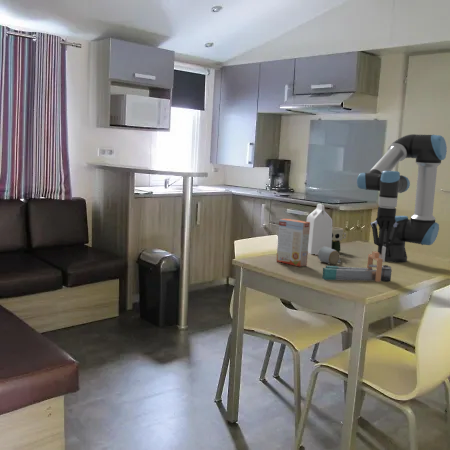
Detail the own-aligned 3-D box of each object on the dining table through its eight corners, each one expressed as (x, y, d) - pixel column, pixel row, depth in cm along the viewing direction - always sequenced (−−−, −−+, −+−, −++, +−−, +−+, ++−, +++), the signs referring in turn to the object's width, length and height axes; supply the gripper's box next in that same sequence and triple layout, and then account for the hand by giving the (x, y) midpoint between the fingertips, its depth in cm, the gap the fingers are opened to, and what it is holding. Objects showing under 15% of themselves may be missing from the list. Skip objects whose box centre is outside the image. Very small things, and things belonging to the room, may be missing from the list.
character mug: (322, 251, 283) (324, 227, 281) (326, 249, 289) (328, 226, 287) (342, 254, 278) (344, 230, 276) (346, 252, 284) (348, 228, 282)
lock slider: (370, 275, 230) (373, 249, 228) (380, 281, 220) (383, 254, 218) (366, 275, 230) (368, 249, 228) (375, 281, 219) (378, 254, 218)
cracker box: (307, 265, 244) (310, 221, 241) (299, 267, 240) (303, 222, 237) (283, 260, 253) (286, 217, 250) (275, 261, 249) (279, 218, 246)
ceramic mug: (329, 265, 247) (330, 249, 246) (317, 261, 254) (318, 246, 253) (344, 264, 253) (346, 248, 252) (332, 260, 260) (333, 245, 259)
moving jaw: (385, 277, 229) (386, 263, 228) (391, 281, 222) (393, 266, 221) (325, 275, 226) (326, 260, 225) (329, 278, 220) (330, 264, 219)
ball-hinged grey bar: (387, 278, 227) (388, 267, 226) (392, 281, 222) (393, 270, 221) (321, 277, 222) (322, 265, 222) (325, 280, 218) (326, 268, 217)
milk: (331, 254, 274) (335, 206, 271) (310, 254, 272) (315, 205, 268) (322, 250, 286) (326, 203, 282) (302, 249, 284) (306, 202, 280)
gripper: (397, 206, 225) (391, 259, 228) (369, 205, 223) (363, 259, 227) (405, 208, 218) (399, 263, 221) (376, 207, 216) (370, 262, 219)
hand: (381, 261), depth 224 cm, fingers closed
